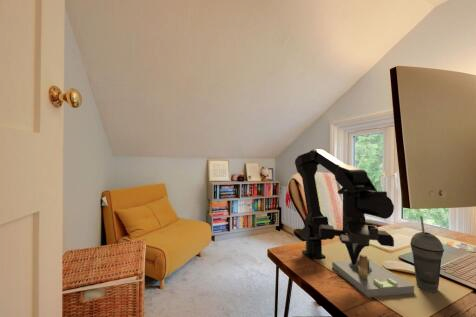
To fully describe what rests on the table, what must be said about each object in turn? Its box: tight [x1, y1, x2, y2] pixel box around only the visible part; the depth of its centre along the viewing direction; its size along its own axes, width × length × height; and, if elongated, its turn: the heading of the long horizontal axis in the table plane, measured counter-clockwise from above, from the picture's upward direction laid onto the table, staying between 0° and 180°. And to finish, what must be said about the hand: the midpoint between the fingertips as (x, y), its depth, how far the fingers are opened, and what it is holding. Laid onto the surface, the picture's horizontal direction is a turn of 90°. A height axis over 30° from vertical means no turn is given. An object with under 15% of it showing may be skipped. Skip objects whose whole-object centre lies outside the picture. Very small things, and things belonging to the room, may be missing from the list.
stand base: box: [331, 258, 415, 298], centre depth 64 cm, size 16×14×3 cm
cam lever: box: [351, 254, 369, 279], centre depth 64 cm, size 10×5×6 cm, turn 156°
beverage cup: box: [409, 216, 445, 293], centre depth 60 cm, size 7×7×20 cm
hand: (353, 264), depth 61 cm, fingers closed
